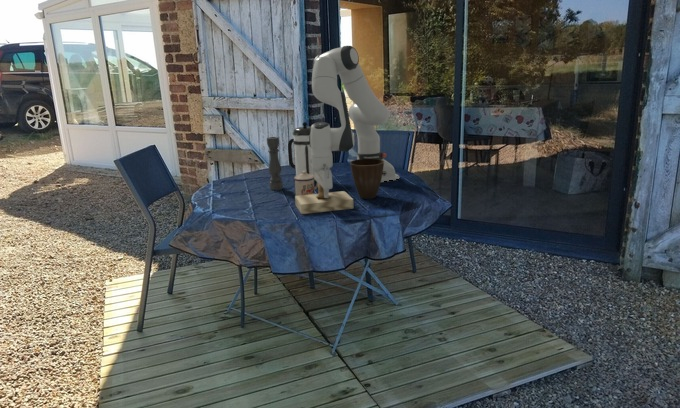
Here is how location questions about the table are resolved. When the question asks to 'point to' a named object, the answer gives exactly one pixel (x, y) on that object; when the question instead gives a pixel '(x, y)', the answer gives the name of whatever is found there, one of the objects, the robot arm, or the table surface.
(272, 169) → the candle holder
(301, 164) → the coffee press
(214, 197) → the table surface
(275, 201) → the table surface
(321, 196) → the peg
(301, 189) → the teacup with lid
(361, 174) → the plant pot
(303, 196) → the block
